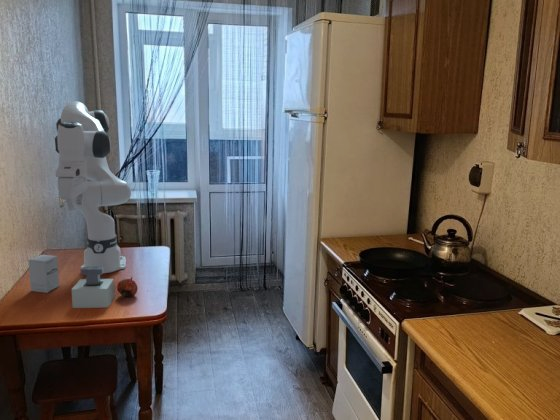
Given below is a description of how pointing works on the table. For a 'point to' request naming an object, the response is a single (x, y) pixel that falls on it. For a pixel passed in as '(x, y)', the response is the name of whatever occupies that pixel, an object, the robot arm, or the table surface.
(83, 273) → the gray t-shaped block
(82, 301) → the well block
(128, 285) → the pomegranate
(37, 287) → the supplement box
